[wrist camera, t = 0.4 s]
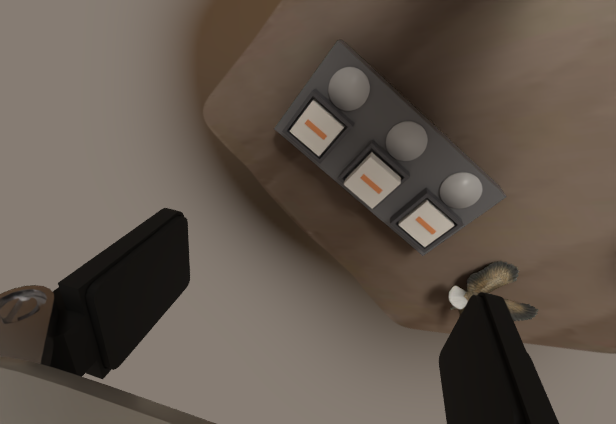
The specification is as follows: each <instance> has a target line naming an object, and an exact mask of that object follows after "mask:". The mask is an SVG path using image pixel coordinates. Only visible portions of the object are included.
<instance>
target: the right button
mask: <svg viewBox="0 0 616 424" xmlns="http://www.w3.org/2000/svg"><path fill="white" fill-rule="evenodd" d="M398 225H399V226H400V227H402V228H403V229H404V230H405V231H406V232H407V233H409V234H410V235H411V236H412V237H413V238H414V239H416V240H417V241H418V242H419V243H420V244H421V245H423V246H424V247H426V246H427V245H429V244H430V243H431V242H433V241H434V240H435V239H437V238H438V237H440V236H441V235H442V234H444V233H445V232H447V231H448V230H449V229H451V228H452V227H453V226H454V222H453V220H452V219H451V218H450V217H449V216H447V215H446V214H445V213H444V212H443V211H442V210H441V209H440V208H438V207H437V206H436V205H435V204H434V203H433V202H432V201H431V200H429V199H428V198H426V199H425V200H423V201H422V202H421V203H420V204H418V205H417V206H416V207H415V208H414V209H412V210H411V211H410V212H409V213H407V214H406V215H405V216H404V217H403V218H401V219H400V220H399V221H398Z"/></svg>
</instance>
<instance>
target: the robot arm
mask: <svg viewBox="0 0 616 424" xmlns="http://www.w3.org/2000/svg"><path fill="white" fill-rule="evenodd" d="M189 281H190V266H189V244H188V222H187V219H186V218H185V217H184V215H183V213H182V212H179V211H176V210H172V209H168V208H164V209H162V210H160V211H159V212H158V213H156V214H155V215H153V216H152V217H150V218H149V219H147V220H146V221H145V222H143V223H142V224H140V225H139V226H138V227H136V228H135V229H133V230H132V231H131V232H129V233H128V234H126V235H125V236H123V237H122V238H121V239H119V240H118V241H117V242H115V243H114V244H112V245H111V246H109V247H108V248H107V249H105V250H104V251H102V252H101V253H100V254H98V255H97V256H95V257H94V258H93V259H91V260H90V261H88V262H87V263H85V264H84V265H83V266H81V267H80V268H78V269H77V270H76V271H74V272H73V273H72V274H70V275H69V276H67V277H66V278H64V279H63V280H62V281H60V282H59V283H58V285H59V288H57V289H56V290H54V291H53V292H52V291H51V290H50V289H49V288H47V287H44V286H38V285H30V286H22V287H18V288H14V289H11V290H8V291H6V292H3V293H1V294H0V424H216V423H213V422H210V421H207V420H204V419H202V418H199V417H195V416H193V415H190V414H188V413H185V412H181V411H179V410H176V409H173V408H170V407H167V406H165V405H162V404H159V403H156V402H153V401H151V400H148V399H145V398H142V397H139V396H136V395H134V394H131V393H128V392H125V391H122V390H119V389H116V388H113V387H111V386H108V385H105V384H102V383H99V382H96V381H93V380H89V379H87V378H84V377H82V376H83V375H84V374H85V373H87V374H90V375H92V376H95V377H98V378H101V379H103V378H104V377H105V376H106V375H107V374H108V373H109V372H110V370H111V369H113V370H114V369H116V368H118V367H119V366H120V365H121V364H122V363H123V361H124V360H125V359H126V358H127V357H128V356H129V354H130V353H131V352H132V351H133V350H134V349H135V347H136V346H137V345H138V344H139V342H141V340H142V339H143V338H144V337H145V336H146V335H147V333H148V332H149V331H150V330H151V329H152V327H153V326H154V325H155V324H156V323H157V322H158V320H159V319H160V318H161V317H162V316H163V315H164V313H165V312H166V311H167V310H168V309H169V308H170V306H171V305H172V304H173V303H174V302H175V301H176V299H177V298H178V297H179V296H180V295H181V294H182V292H183V291H184V290H185V289H186V287H187V286H188V284H189ZM439 368H440V375H441V383H442V390H443V397H444V405H445V412H446V420H447V424H559V423H558V420H557V418H556V416H555V413H554V411H553V409H552V406H551V404H550V401H549V399H548V397H547V394H546V392H545V390H544V387H543V385H542V383H541V380H540V378H539V376H538V374H537V371H536V369H535V367H534V364H533V362H532V360H531V358H530V356H529V354H528V353H527V352H526V350H525V348H524V345H523V343H522V340H521V338H520V335H519V333H518V331H517V328H516V326H515V324H514V321H513V319H512V317H511V314H510V312H509V310H508V307H507V305H506V302H505V300H504V299H503V298H502V297H500V296H496V295H492V294H488V293H485V292H480V293H479V294H478V295H472V296H471V297H470V299H469V301H468V302H467V304H466V306H465V308H464V310H463V312H462V313H461V315H460V317H459V319H458V321H457V323H456V325H455V326H454V328H453V330H452V332H451V334H450V336H449V338H448V339H447V341H446V343H445V345H444V347H443V349H442V350H441V353H440V356H439Z"/></svg>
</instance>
